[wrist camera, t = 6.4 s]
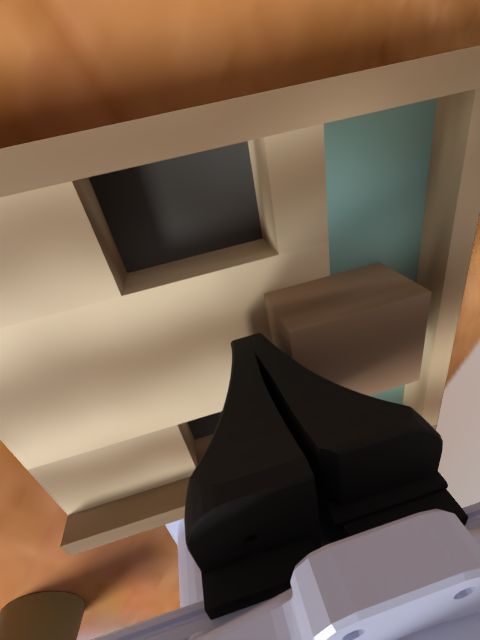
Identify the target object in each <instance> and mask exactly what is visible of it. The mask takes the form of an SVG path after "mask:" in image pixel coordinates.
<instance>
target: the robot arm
mask: <svg viewBox="0 0 480 640" xmlns="http://www.w3.org/2000/svg"><path fill="white" fill-rule="evenodd" d="M230 344H231V348H232V366H231V376H230V381H229V387H228V392H227V396H226V400H225V403H224V407H223V410H222V413H221V416H220V419H219V421H218V424H217V427H216V429H215V431H214V434H213V436H212V438H211V440H210V442H209V444H208V446H207V448H206V450H205V452H204V454H203V456H202V458H201V460H200V461H199V463H198V465H197V466H196V468H195V470H194V471H193V473H192V475H191V476H190V478H189V483H188V489H187V495H186V502H185V516H184V519H181V520H178V521H175V522H172V523H169V524H166V525H165V526H166V527H167V529H168V531H169V532H170V534H171V536H172V537H173V539H174V541H175V542H176V544H177V545H178V565H179V589H180V608H179V609H177V610H174V611H171V612H168V613H165V614H162V615H160V616H157V617H154V618H151V619H148V620H145V621H143V622H140V623H137V624H134V625H131V626H129V627H126V628H123V629H120V630H117V631H114V632H112V633H109V634H106V635H103V636H100V637H97V638H95V639H92V640H480V502H479V503H476V504H474V505H470V506H468V507H465V508H461V507H460V505H459V504H458V503H457V502H456V501H455V499H454V498H453V497H452V496H451V494H450V493H449V492H448V491H447V489H446V488H447V487H448V484H447V482H446V481H445V479H444V478H443V477H442V476H441V474H440V473H439V472H438V467H439V462H440V458H441V454H442V445H443V441H442V439H441V436H440V435H439V433H438V432H437V431H436V430H435V429H434V428H433V427H432V426H431V425H430V424H429V423H428V422H427V421H426V420H425V419H424V418H423V417H422V416H421V415H420V414H418V413H417V412H416V411H415V410H414V409H413V408H412V407H410V406H406V405H402V404H397V403H393V402H389V401H385V400H381V399H377V398H374V397H371V396H368V395H365V394H362V393H359V392H356V391H353V390H351V389H348V388H346V387H343V386H341V385H338V384H336V383H334V382H331V381H329V380H327V379H325V378H323V377H321V376H319V375H318V374H316V373H314V372H312V371H311V370H309V369H307V368H306V367H304V366H302V365H301V364H299V363H298V362H296V361H295V360H293V359H292V358H291V357H289V356H288V355H287V354H285V353H284V352H282V351H281V350H280V349H279V348H277V347H276V346H275V345H274V344H273V343H271V342H270V341H269V340H268V339H267V338H266V337H265V336H264V335H263V334H261V333H257V334H254V335H250V336H247V337H243V338H240V339H236V340H233V341H232V342H231V343H230Z"/></svg>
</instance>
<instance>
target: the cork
mask: <svg viewBox="0 0 480 640" xmlns="http://www.w3.org/2000/svg"><path fill="white" fill-rule="evenodd" d="M84 609H85V601H84V600H83V599H82V598H81V597H80V596H77V595H75V594H72V593H67V592H60V591H55V592H41V593H35V594H30V595H27V596H24V597H21V598H18V599H16V600H14V601H12V602H10V603H8V604H7V605H6V606H5V607H4V608H3V609H2V610H1V612H0V640H76V639H77V635H78V632H79V628H80V624H81V620H82V617H83V613H84Z"/></svg>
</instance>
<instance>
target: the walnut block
mask: <svg viewBox="0 0 480 640" xmlns="http://www.w3.org/2000/svg"><path fill="white" fill-rule="evenodd" d="M431 293H432V291H430V290H428V289H426V288H424V287H423V286H421V285H419V284H417V283H416V282H414V281H412V280H410V279H408V278H407V277H405V276H403V275H401V274H400V273H398V272H396V271H394V270H393V269H391V268H389V267H387V266H385V265H384V264H382V263H380V262H377V263H374V264H370V265H366V266H363V267H359V268H356V269H352V270H348V271H345V272H341V273H337V274H334V275H330V276H327V277H323V278H319V279H316V280H312V281H308V282H305V283H301V284H298V285H294V286H290V287H287V288H283V289H280V290H276V291H272V292H269V293H265V294H264V300H265V305H266V311H267V317H268V323H269V329H270V334H271V340H272V343H273V344H274V345H275V346H276V347H277V348H279V349H280V350H281V351H282V352H284V353H285V354H287V355H288V356H289V357H291V358H292V359H293V360H295V361H296V362H298V363H299V364H301V365H302V366H304V367H306V368H307V369H309V370H311V371H312V372H314V373H316V374H318V375H319V376H321V377H323V378H325V379H327V380H329V381H331V382H334V383H336V384H338V385H341V386H343V387H346V388H348V389H351V390H353V391H356V392H359V393H362V394H365V395H368V396H370V395H374V394H377V393H380V392H383V391H386V390H390V389H393V388H396V387H399V386H402V385H405V384H409V383H412V382H415V381H418V380H419V379H420V372H421V364H422V357H423V350H424V343H425V336H426V329H427V321H428V314H429V307H430V300H431Z"/></svg>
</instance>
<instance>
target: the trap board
mask: <svg viewBox="0 0 480 640" xmlns="http://www.w3.org/2000/svg"><path fill="white" fill-rule="evenodd" d="M479 215H480V45H479V46H474V47H469V48H465V49H460V50H455V51H451V52H446V53H441V54H437V55H432V56H427V57H423V58H418V59H414V60H409V61H404V62H400V63H395V64H390V65H386V66H381V67H376V68H372V69H367V70H363V71H358V72H353V73H349V74H344V75H339V76H335V77H330V78H325V79H321V80H316V81H311V82H307V83H302V84H298V85H293V86H288V87H284V88H279V89H274V90H270V91H265V92H260V93H256V94H251V95H246V96H242V97H237V98H233V99H228V100H223V101H219V102H214V103H209V104H205V105H200V106H195V107H191V108H186V109H182V110H177V111H172V112H168V113H163V114H158V115H154V116H149V117H144V118H140V119H135V120H130V121H126V122H121V123H117V124H112V125H107V126H103V127H98V128H93V129H89V130H84V131H79V132H75V133H70V134H66V135H61V136H56V137H52V138H47V139H42V140H38V141H33V142H28V143H24V144H19V145H14V146H10V147H5V148H1V149H0V440H1V441H2V442H3V443H4V444H5V446H6V447H7V448H8V449H9V450H10V451H11V452H12V453H13V454H14V456H15V457H16V458H17V459H18V460H19V461H20V462H21V463H22V464H23V466H24V467H25V468H26V469H27V470H28V471H29V472H30V473H31V474H32V476H33V477H34V478H35V479H36V480H37V481H38V482H39V483H40V484H41V486H42V487H43V488H44V489H45V490H46V491H47V492H48V493H49V495H50V496H51V497H52V498H53V499H54V500H55V501H56V502H57V503H58V505H59V506H60V507H61V508H62V509H63V510H64V511H65V512H66V513H67V515H68V518H67V522H66V526H65V530H64V534H63V538H62V542H61V546H60V547H61V548H63V549H64V550H65V551H66V552H67V553H68V554H69V555H70V556H71V555H74V554H77V553H80V552H83V551H86V550H89V549H92V548H95V547H99V546H102V545H105V544H108V543H111V542H114V541H117V540H120V539H123V538H126V537H129V536H132V535H135V534H138V533H141V532H144V531H147V530H150V529H153V528H156V527H159V526H162V525H166V524H169V523H172V522H175V521H178V520H181V519H184V516H185V502H186V495H187V489H188V483H189V478H190V476H191V475H192V473H193V471H194V470H195V468H196V466H197V465H198V463H199V461H200V460H201V458H202V456H203V454H204V452H205V450H206V448H207V446H208V444H209V442H210V440H211V438H212V436H213V434H214V431H215V429H216V427H217V424H218V421H219V419H220V416H221V413H222V410H223V407H224V403H225V400H226V396H227V392H228V387H229V381H230V376H231V366H232V348H231V344H230V343H231V342H232V341H233V340H236V339H240V338H243V337H247V336H250V335H254V334H257V333H261V334H263V335H264V336H265V337H266V338H267V339H268V340H269V341H270V342H271V343H272V340H271V334H270V329H269V323H268V317H267V311H266V305H265V300H264V294H265V293H269V292H272V291H276V290H280V289H283V288H287V287H290V286H294V285H298V284H301V283H305V282H308V281H312V280H316V279H319V278H323V277H327V276H330V275H334V274H337V273H341V272H345V271H348V270H352V269H356V268H359V267H363V266H366V265H370V264H374V263H377V262H380V263H382V264H384V265H385V266H387V267H389V268H391V269H393V270H394V271H396V272H398V273H400V274H401V275H403V276H405V277H407V278H408V279H410V280H412V281H414V282H416V283H417V284H419V285H421V286H423V287H424V288H426V289H428V290H430V291H432V293H431V300H430V307H429V314H428V321H427V329H426V336H425V343H424V350H423V357H422V364H421V372H420V379H419V380H418V381H415V382H412V383H409V384H405V385H402V386H399V387H396V388H393V389H390V390H386V391H383V392H380V393H377V394H374V395H370V396H371V397H374V398H377V399H381V400H385V401H389V402H393V403H397V404H402V405H406V406H410V407H412V408H413V409H414V410H415V411H416V412H417V413H418V414H420V415H421V416H422V417H423V418H424V419H425V420H426V421H427V422H428V423H429V424H430V425H431V426H432V427H433V428H434V429H435V430H436V427H437V422H438V417H439V412H440V407H441V403H442V398H443V393H444V388H445V383H446V378H447V373H448V368H449V363H450V358H451V353H452V348H453V343H454V338H455V333H456V328H457V323H458V319H459V314H460V309H461V304H462V299H463V294H464V289H465V284H466V279H467V274H468V269H469V264H470V259H471V254H472V249H473V244H474V240H475V235H476V230H477V225H478V220H479Z"/></svg>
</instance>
